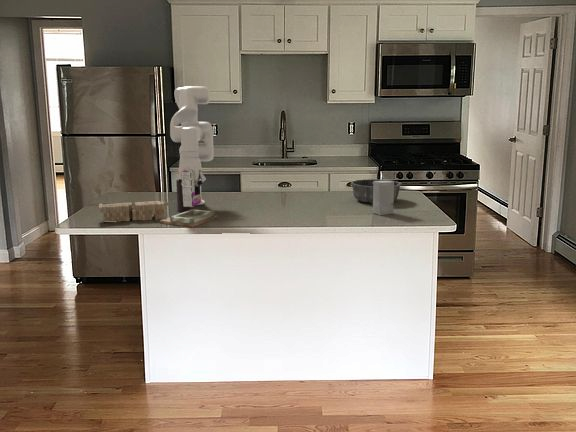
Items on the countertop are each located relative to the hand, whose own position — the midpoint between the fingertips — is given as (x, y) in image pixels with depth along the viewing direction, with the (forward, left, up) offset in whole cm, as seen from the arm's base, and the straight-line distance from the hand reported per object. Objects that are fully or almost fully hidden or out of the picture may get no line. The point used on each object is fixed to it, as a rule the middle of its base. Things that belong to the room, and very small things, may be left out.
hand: (191, 193), depth 285 cm
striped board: (-2, 0, -13) cm, 13 cm away
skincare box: (+75, +52, -13) cm, 92 cm away
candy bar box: (0, 0, -5) cm, 5 cm away
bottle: (-17, +18, -13) cm, 28 cm away
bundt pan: (+62, +81, -13) cm, 103 cm away
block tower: (-28, -9, -13) cm, 32 cm away
